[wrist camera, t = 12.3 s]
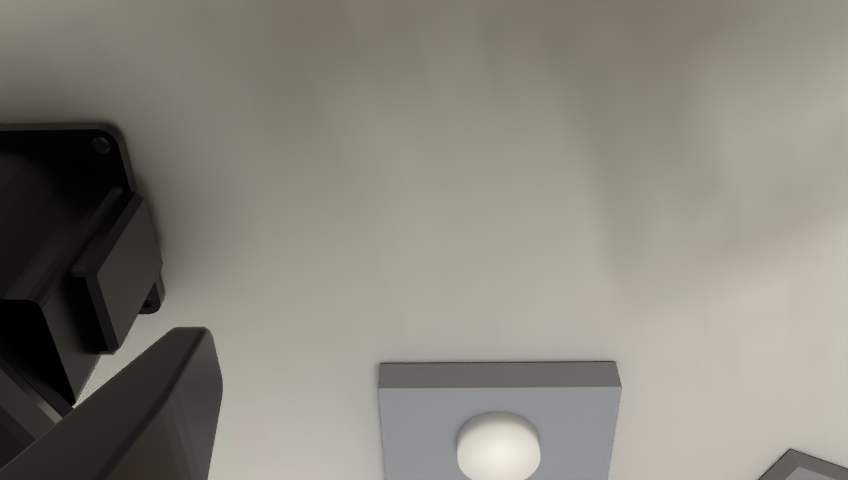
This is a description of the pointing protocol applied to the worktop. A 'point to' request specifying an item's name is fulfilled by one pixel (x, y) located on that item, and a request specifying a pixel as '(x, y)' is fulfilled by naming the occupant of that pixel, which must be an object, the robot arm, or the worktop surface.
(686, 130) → the worktop surface
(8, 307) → the robot arm
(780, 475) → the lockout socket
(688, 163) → the worktop surface
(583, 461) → the indicator board
